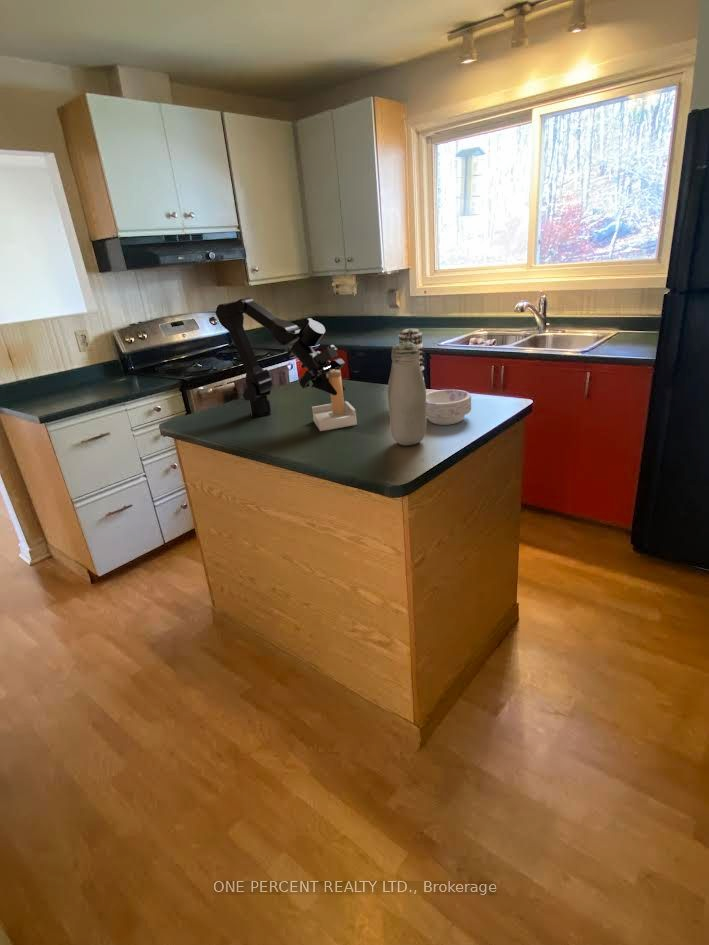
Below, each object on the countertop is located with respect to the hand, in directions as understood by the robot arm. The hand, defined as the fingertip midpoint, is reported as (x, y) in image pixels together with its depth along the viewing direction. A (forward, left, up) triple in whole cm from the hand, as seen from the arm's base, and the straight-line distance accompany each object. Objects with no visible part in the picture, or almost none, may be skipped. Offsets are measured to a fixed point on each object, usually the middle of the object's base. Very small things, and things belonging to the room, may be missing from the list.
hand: (340, 392), depth 162 cm
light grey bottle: (+13, -27, -10) cm, 32 cm away
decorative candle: (+28, +9, -10) cm, 31 cm away
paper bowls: (+30, -14, -11) cm, 34 cm away
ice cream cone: (-1, +1, -7) cm, 7 cm away
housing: (-2, +2, -10) cm, 11 cm away
